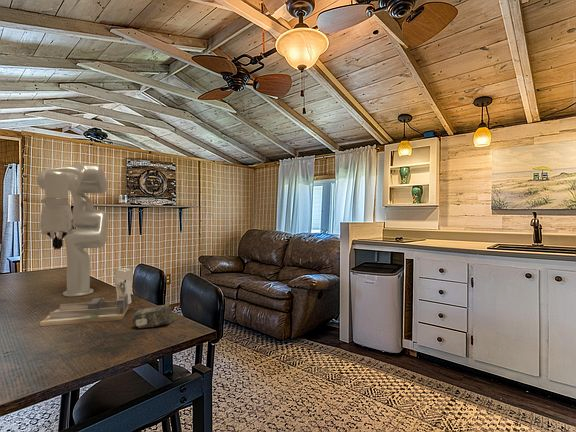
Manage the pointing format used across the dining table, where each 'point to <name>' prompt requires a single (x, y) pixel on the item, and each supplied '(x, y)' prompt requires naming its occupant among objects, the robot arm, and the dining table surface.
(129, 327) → the dining table surface
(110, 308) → the gauge board
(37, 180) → the robot arm
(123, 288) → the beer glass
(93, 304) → the slider
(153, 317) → the stone
